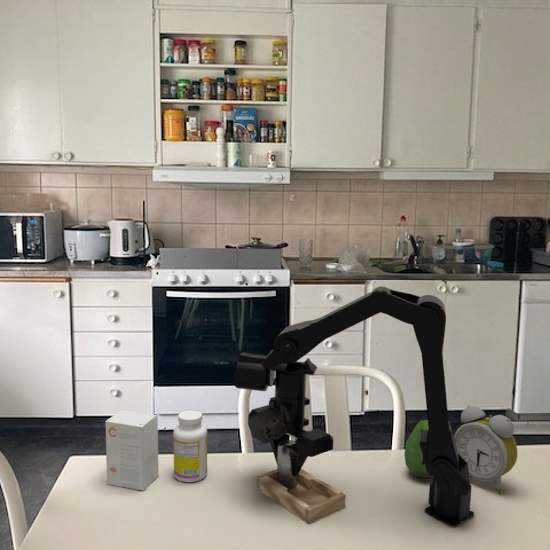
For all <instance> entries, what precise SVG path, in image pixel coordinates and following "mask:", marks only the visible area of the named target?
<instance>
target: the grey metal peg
mask: <svg viewBox="0 0 550 550" xmlns="http://www.w3.org/2000/svg"><path fill="white" fill-rule="evenodd" d="M294 441H295V440H293V439H289V440H282V441H280V442H279V443H278V458H277V463H276V465H277V466H276V469H277V482H278V483H280V484H281V485H283V486H284V487H286V488H287V489H291V488H295V487H296V486H297V484H298V475H297V476H293V475H292V465H291V451H290V450H289V449H288V448H287V447H286V446H288V445H291V444H294Z"/></svg>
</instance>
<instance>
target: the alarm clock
mask: <svg viewBox="0 0 550 550" xmlns="http://www.w3.org/2000/svg"><path fill="white" fill-rule="evenodd" d="M460 421H461V423H463V424H462V425H460V426H459V427H458V428H457V429H456V431H455V432H454V434H453V435H454V439H455V442H456V446H457V451H458V453H459V455H460V456H461V457H462V458H463V459H464V460H465V461H466V462H467V463H468V469H469V476H470V477H472V478H475V479H476V480H479V481H483V482H485V481H486V482H489V481H490V482H491V481H493V483H494V485H495V486H496V489H497V491H498V492H499V494H503V493H504V487H503V482H502V476H504V475H506V474H507V473H509V472H511V471H512V470H513V468H514V467H515V465H516V462H517V459H518V447H517V446H518V445H517V442H516V440H515V437H514V436H513V434H514V432H515V428H514V423H513V421H512V420H511V419H510V418H509V417H508V416H505V415H502V414H496V415H494V416H492V414H489V417H488V416H487V417H486V412H485V411H484V410H483V409H482V408H480V407H478V406H473V405H469V404H468V405H467V406H466V408H464V409H463V411H462V412H461V415H460Z"/></svg>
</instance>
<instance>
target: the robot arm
mask: <svg viewBox="0 0 550 550" xmlns="http://www.w3.org/2000/svg"><path fill="white" fill-rule="evenodd" d="M381 313H382V314H385V315H387V316H389V317H391V318H393V319H395V320H398V321H400V322H403V323H405V324H408V325H412V328H413V331H414V334H415V338H416V341H417V344H418V347H419V350H420V353H421V361H422V362H421V363H422V374H423V385H424V393H425V404H426V416H427V420H428V428H427V430H422V429H420V447H421V465H424V464H425V467H426V471H427V473H428V474H429V475H431V476H432V477H431V483H429V490H428V491H429V492H428V502H427V503H428V505H429V506H427V507H425V508H424V513H426V514H428V515H430V516H432V517H433V518H435V519H438V520H439V521H441V522H443V523H444V524H447V525H449V526H450V527H453V528H455V527H458V526H459V525H461V524H463V523H464V522H466V521H468V520H469V519H471V518H473V517H475V512H474V511H473V510H471V497H472V488H473V487H472V485H471V483H472V482H471V478H470V477H471V475H469V469H468V463H467V462H466V461H465V460H464V459H463V458H462V457H461V456H460V455H459V453H458V451H457V446H456V442H455V439H454V435H455V434H454V432H453V430H452V427H451V423H450V420H449V411H448V410H449V409H448V399H447V389H446V378H445V377H446V376H445V367H444V355H443V351H444V343H445V335H446V334H445V333H446V323H447V315H446V307H445V304H444V303H443V301H442V300H441V299H440V298H438V297H437V296H435V295H433V294H432V295H431V294H425V295H421V296H419V295H416V294H413V293H408V292H404V291H399V290H396V289H395V290H394V289H392V288H388V287H386V286H381V285H380V286H378V287H375V288H374V289H373V290H372V291H370V292H368V293H366V294H364V295H361V296H359V297H358V298H356V299H354V300H353V301H350V302H348V303H346V304H345V305H343V306H341V307H338V308H336V309H335V310H332V311H330V312H328V313H326V314H325V315H322V316H320V317H318V318H314V319H311V320H305V321H302V322H298V323H294V324H291V325H288V326H286V327H284V329H283V330H282V331H281V332H280V333H279V334H278V335H277V336H276V338H275V339H274V342H273V349H271V350H270V352H269V353H268V354H267V355H263V354H253V353H249V352H241V353H240V354H239V355H238V361H237V364H236V367H235V373H234V375H233V377H234V378H233V380H234V381H233V382H234V387H235V388H236V389H240V390H250V391H258V392H267V390H268V389H269V387H273V385H275V386H274V387H275V388H274V396H273V397H270V398H269V400H268V404H266V405H263V406H258V407H256V408H253V409H251V410H250V412H249V413H248V415H247V416H248V417H247V425H248V428H249V432H250V435H251V437H252V438H253V439H255V440H257V441H259V442H261V443H262V444H264V445H265V444H268V443H270V446H271V449H272V453H273V456H274V459H275V464H277V458H278V443H279V442H280V441H282V440H290V438H294V440H293V441H294V444H291V445H288V446H286V447H287V448H288V449H289V450H290V451H291V465H292V475H293V476H297V475H298V474H299V472H300V470H301V469H302V468H303V466H304V464H305V462H306V461H307V459H308V457H309V458H314V457H316V456H319V455H321V454H324V453H327V452H330V451H333V450H334V437H333V436H332V434H330V433H328V432H326V431H324V430H322V429H319V428H315V429H310V430H305V429H304V427H307V426H309V425H310V420H309V419H308V418H306V417H305V414H306V413H305V410H306V406H308V405H310V404H311V403H310V402H311V399H310V398H308V397H306V390H307V389H306V388H307V385H306V384H307V375H310V376H314V375H315V373H316V371H317V370H318V366H317V365H315V363H314V362H312V360H311V359H310V358H309V357H308V358H306V360H304V361H300V359H302V358H303V357H305V356H306V355H307V354H309V353H311V351H313V350H314V349H315V348H317V346H319V344H321V343H323V342H324V341H325V340H327V339H329V338H331V337H333V336H335V335H337V334H339V333H341V332H343V331H345V330H347V329H350V328H351V327H353V326H356V325H358V324H360V323H362V322H364V321H366V320H368V319H370V318H372V317H374V316H376V315H378V314H381ZM274 382H275V384H274Z"/></svg>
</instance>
